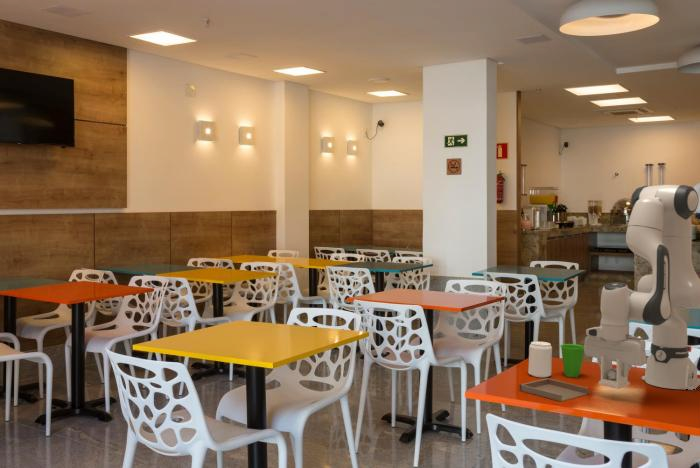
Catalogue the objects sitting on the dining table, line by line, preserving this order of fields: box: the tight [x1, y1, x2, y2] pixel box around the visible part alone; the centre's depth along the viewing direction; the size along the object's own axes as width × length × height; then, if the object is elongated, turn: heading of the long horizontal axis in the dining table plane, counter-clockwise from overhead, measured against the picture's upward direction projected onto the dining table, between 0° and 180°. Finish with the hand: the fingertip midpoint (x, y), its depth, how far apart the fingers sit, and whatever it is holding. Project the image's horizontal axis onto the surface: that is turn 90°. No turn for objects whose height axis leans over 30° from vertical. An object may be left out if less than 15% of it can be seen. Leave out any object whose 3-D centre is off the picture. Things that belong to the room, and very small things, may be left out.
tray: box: [518, 377, 590, 402], centre depth 228 cm, size 16×16×2 cm
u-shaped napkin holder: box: [598, 356, 631, 390], centre depth 223 cm, size 7×7×10 cm
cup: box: [560, 343, 585, 378], centre depth 252 cm, size 9×9×11 cm
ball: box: [607, 367, 617, 381], centre depth 223 cm, size 4×4×4 cm
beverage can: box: [528, 340, 553, 379], centre depth 251 cm, size 8×8×12 cm
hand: (614, 374), depth 223 cm, fingers closed on u-shaped napkin holder, 6 cm apart
